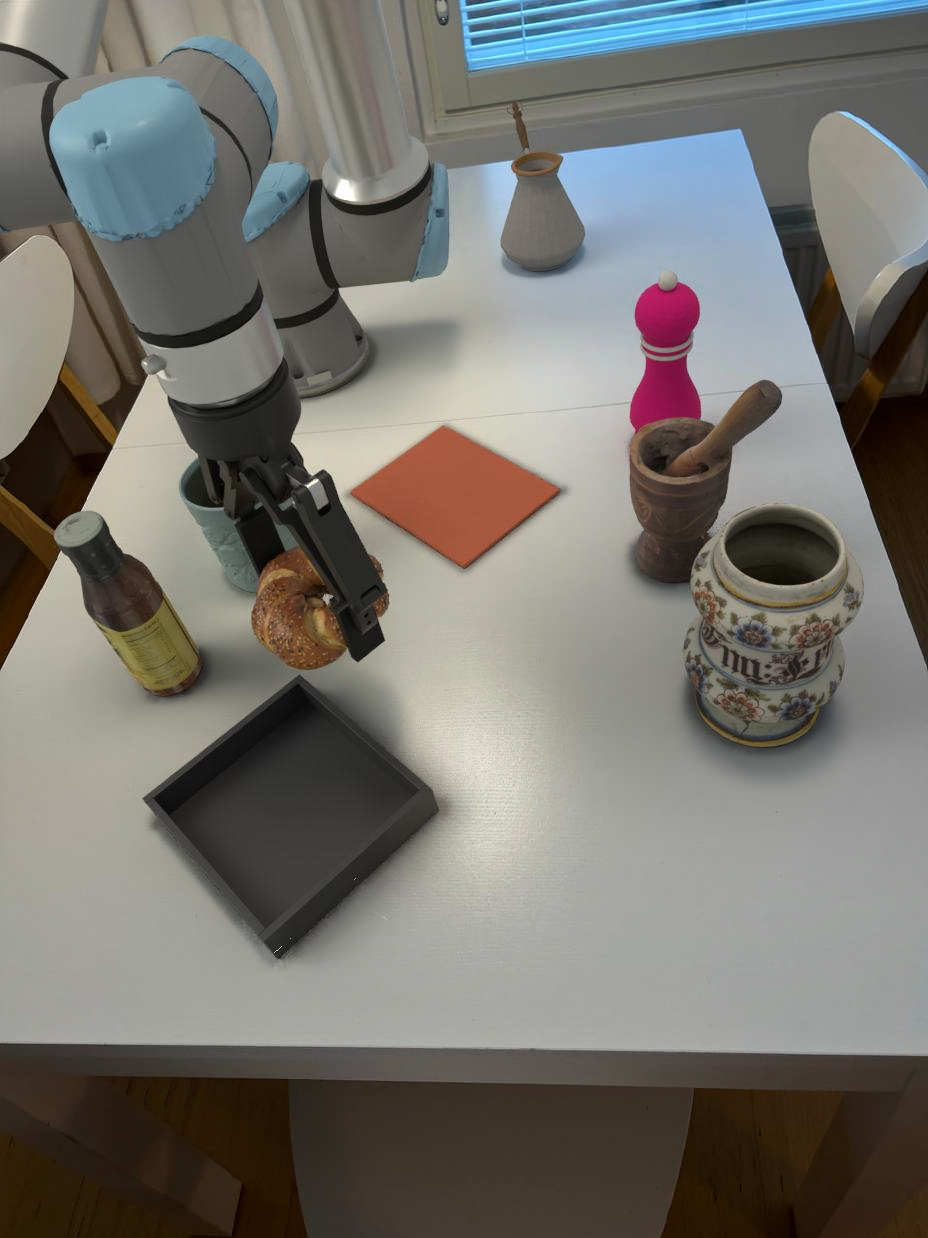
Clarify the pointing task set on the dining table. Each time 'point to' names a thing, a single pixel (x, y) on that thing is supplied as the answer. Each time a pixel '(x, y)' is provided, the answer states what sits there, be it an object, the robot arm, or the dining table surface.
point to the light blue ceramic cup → (224, 528)
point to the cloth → (455, 495)
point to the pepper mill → (666, 352)
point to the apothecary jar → (770, 622)
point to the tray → (291, 811)
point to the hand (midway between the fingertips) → (320, 610)
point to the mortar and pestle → (688, 480)
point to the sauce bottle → (129, 607)
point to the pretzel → (300, 612)
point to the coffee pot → (539, 210)
